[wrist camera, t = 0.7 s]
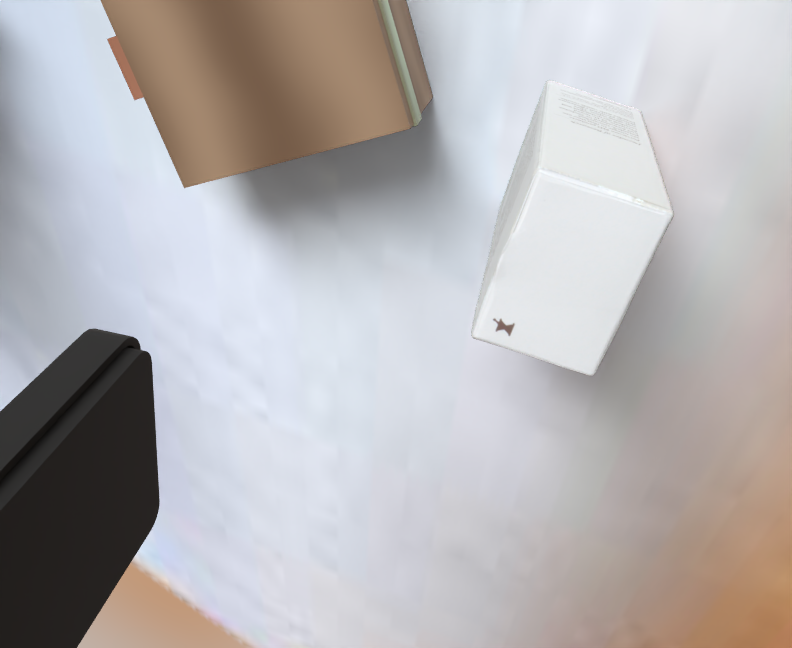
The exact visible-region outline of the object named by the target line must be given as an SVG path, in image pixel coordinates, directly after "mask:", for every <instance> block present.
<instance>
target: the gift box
mask: <svg viewBox="0 0 792 648" xmlns="http://www.w3.org/2000/svg"><path fill="white" fill-rule="evenodd" d="M101 2H102V5H103V7H104V9H105V11H106V14H107V16H108V18H109V20H110V23H111V25H112V27H113V29H114V32H115V34H116V36H115V37H112V38H109V39H107V40H108V42H109V44H110V47H111V49H112V51H113V53H114V56H115V58H116V60H117V62H118V64H119V67H120V69H121V71H122V73H123V75H124V78H125V80H126V82H127V84H128V87H129V89H130V91H131V93H132V95H133V98H134V100H136V99H139V98H143V97H144V99H145V101H146V103H147V106H148V108H149V110H150V112H151V115H152V117H153V119H154V121H155V124H156V126H157V128H158V130H159V132H160V135H161V137H162V139H163V141H164V144H165V146H166V148H167V150H168V153H169V155H170V157H171V159H172V162H173V164H174V166H175V168H176V171H177V173H178V175H179V177H180V180H181V182H182V184H183V186H184V188H186V187H190V186H194V185H198V184H201V183H205V182H209V181H213V180H217V179H220V178H224V177H228V176H232V175H236V174H239V173H243V172H247V171H251V170H255V169H259V168H262V167H266V166H270V165H274V164H278V163H281V162H285V161H289V160H293V159H297V158H301V157H304V156H308V155H312V154H316V153H320V152H323V151H327V150H331V149H335V148H339V147H342V146H346V145H350V144H354V143H358V142H362V141H365V140H369V139H373V138H377V137H381V136H384V135H388V134H392V133H396V132H400V131H404V130H407V129H411V127H414V126H417V125H418V124H419V122H420V121H421V119H422V117H421V113H422V112H423V110H424V109H425V107H426V106H427V105H428V103H429V102H430V100H431V99H432V98H433V95H432V91H431V88H430V84H429V81H428V77H427V74H426V70H425V66H424V63H423V59H422V56H421V52H420V48H419V45H418V41H417V38H416V34H415V31H414V27H413V23H412V20H411V16H410V13H409V9H408V6H407V2H406V0H101Z"/></svg>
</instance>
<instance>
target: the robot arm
mask: <svg viewBox="0 0 792 648" xmlns="http://www.w3.org/2000/svg"><path fill="white" fill-rule="evenodd" d="M158 509H159V484H158V466H157V448H156V430H155V412H154V394H153V375H152V361H151V356H150V354H149V353H148V352H146V351H142V350H141V348H140V344H139V342H138V340H137V339H136V338H134V337H131V336H126V335H122V334H117V333H112V332H108V331H103V330H98V329H89V330H87V331H86V332H84V333H83V334H82V335H81V336H80V337H79V338H78V339H77V340H76V341H75V342H73V343H72V344H71V345H70V346H69V347H68V348H67V349H66V350H65V351H64V352H63V353H62V354H61V355H60V356H59V357H58V358H57V359H55V360H54V361H53V362H52V363H51V364H50V365H49V366H48V367H47V368H46V369H45V370H44V371H43V372H42V373H41V374H40V375H39V376H38V377H36V378H35V379H34V380H33V381H32V382H31V383H30V384H29V385H28V386H27V387H26V388H25V389H24V390H23V391H22V392H21V393H20V394H18V395H17V396H16V397H15V398H14V399H13V400H12V401H11V402H10V403H9V404H8V405H7V406H6V407H5V408H4V409H3V410H2V411H0V648H77V647H78V645H79V643H80V642H81V640H82V639H83V637H84V635H85V634H86V632H87V630H88V629H89V627H90V626H91V624H92V623H93V621H94V619H95V618H96V616H97V615H98V613H99V612H100V610H101V609H102V607H103V605H104V604H105V602H106V601H107V599H108V597H109V596H110V594H111V593H112V591H113V589H114V588H115V586H116V585H117V583H118V581H119V580H120V578H121V577H122V575H123V574H124V572H125V570H126V569H127V567H128V566H129V564H130V563H131V561H132V559H133V558H134V556H135V555H136V553H137V551H138V550H139V548H140V547H141V545H142V544H143V542H144V540H145V539H146V537H147V536H148V534H149V532H150V531H151V529H152V527H153V525H154V523H155V520H156V517H157V514H158Z"/></svg>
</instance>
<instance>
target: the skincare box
mask: <svg viewBox="0 0 792 648" xmlns="http://www.w3.org/2000/svg"><path fill="white" fill-rule="evenodd" d="M673 216H674V212H673V209H672V206H671V203H670V200H669V197H668V194H667V191H666V187H665V184H664V181H663V178H662V175H661V172H660V169H659V166H658V163H657V159H656V156H655V153H654V150H653V146H652V143H651V141H650V137H649V134H648V131H647V128H646V125H645V122H644V119H643V115H642V112H641V111H640V110H638V109H636V108H633V107H630V106H626V105H623V104H620V103H617V102H614V101H611V100H608V99H605V98H603V97H600V96H597V95H594V94H591V93H588V92H585V91H582V90H579V89H576V88H573V87H570V86H567V85H564V84H561V83H558V82H555V81H552V80H548V81H546V83H545V86H544V88H543V91H542V94H541V96H540V99H539V101H538V104H537V106H536V109H535V112H534V114H533V117H532V119H531V122H530V125H529V128H528V130H527V133H526V136H525V138H524V141H523V144H522V146H521V149H520V152H519V155H518V157H517V160H516V163H515V166H514V169H513V171H512V174H511V177H510V180H509V183H508V186H507V188H506V191H505V194H504V197H503V199H502V202H501V204H500V208H499V213H498V217H497V221H496V225H495V230H494V234H493V238H492V243H491V247H490V252H489V256H488V260H487V265H486V269H485V273H484V278H483V281H482V286H481V290H480V295H479V298H478V302H477V306H476V310H475V315H474V320H473V325H472V330H471V336H472V338H474V339H478V340H481V341H484V342H487V343H491V344H494V345H497V346H500V347H503V348H507V349H510V350H513V351H516V352H519V353H522V354H525V355H528V356H531V357H533V358H536V359H539V360H542V361H545V362H548V363H551V364H554V365H557V366H560V367H563V368H566V369H569V370H572V371H575V372H579V373H582V374H585V375H589V376H593V375H594V374H595V373H596V371H597V369H598V367H599V365H600V363H601V361H602V359H603V357H604V355H605V353H606V351H607V349H608V347H609V345H610V344H611V342H612V340H613V338H614V336H615V334H616V332H617V330H618V328H619V326H620V324H621V322H622V320H623V318H624V316H625V314H626V312H627V310H628V307H629V305H630V303H631V301H632V299H633V297H634V295H635V293H636V290H637V288H638V286H639V284H640V282H641V280H642V278H643V276H644V274H645V272H646V270H647V268H648V266H649V264H650V262H651V260H652V258H653V256H654V254H655V252H656V250H657V248H658V246H659V244H660V242H661V240H662V238H663V236H664V234H665V232H666V230H667V228H668V226H669V224H670V222H671V220H672V218H673Z"/></svg>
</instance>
